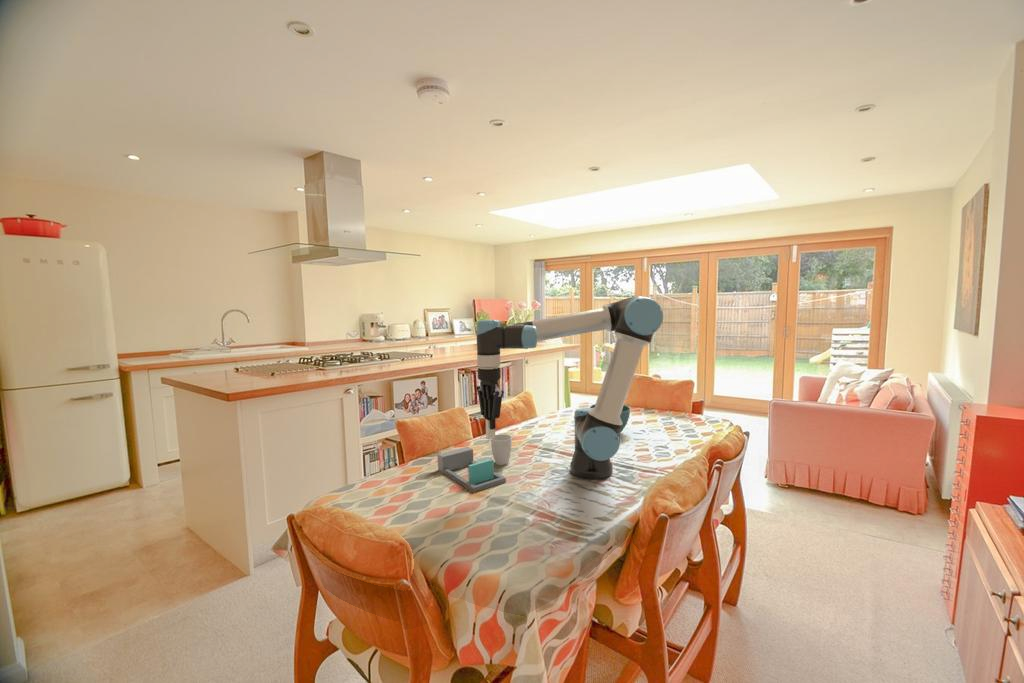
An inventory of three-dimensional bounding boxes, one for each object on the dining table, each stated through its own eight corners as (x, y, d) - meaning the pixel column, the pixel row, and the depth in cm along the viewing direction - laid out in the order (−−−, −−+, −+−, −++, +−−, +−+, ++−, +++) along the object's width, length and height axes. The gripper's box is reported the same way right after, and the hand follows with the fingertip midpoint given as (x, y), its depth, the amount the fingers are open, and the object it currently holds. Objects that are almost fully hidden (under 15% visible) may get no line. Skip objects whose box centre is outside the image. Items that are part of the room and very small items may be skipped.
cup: (515, 460, 171) (515, 435, 170) (506, 467, 163) (506, 441, 163) (497, 457, 174) (496, 433, 173) (487, 464, 167) (486, 439, 166)
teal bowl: (599, 425, 215) (599, 401, 214) (635, 431, 205) (635, 405, 203) (583, 435, 201) (583, 409, 199) (621, 442, 190) (621, 414, 189)
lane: (505, 482, 150) (505, 465, 150) (473, 492, 143) (473, 474, 142) (468, 461, 171) (467, 446, 170) (438, 469, 163) (437, 454, 163)
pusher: (493, 478, 153) (493, 459, 152) (470, 485, 148) (470, 466, 147) (486, 474, 157) (486, 456, 156) (463, 481, 151) (463, 462, 151)
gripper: (510, 368, 139) (511, 440, 141) (487, 364, 149) (489, 431, 151) (490, 370, 134) (492, 445, 136) (468, 366, 145) (470, 435, 147)
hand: (490, 437), depth 144 cm, fingers closed
